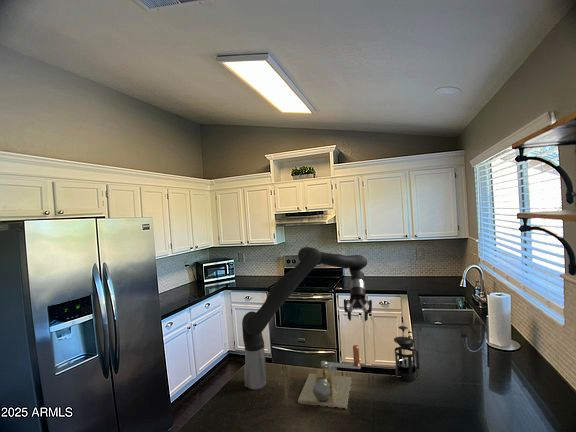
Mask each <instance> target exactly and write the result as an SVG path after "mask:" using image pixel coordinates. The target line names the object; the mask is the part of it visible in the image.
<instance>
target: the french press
mask: <svg viewBox="0 0 576 432" xmlns="http://www.w3.org/2000/svg"><path fill="white" fill-rule="evenodd" d="M398 329H399V330H401V331H402V336H396V337H394V338H393V341H394V342H395V343H396V344H397V345H398V347H395V348H394V355H395V356H394V358H395V359H394V360H395V377H396V376H401V377H396V378H397V379H398V380H400V381H403V382H415V381H417V378H418V376H417V370H419V369H420V360H419V359H420V358H419V350H418V349H417V348H413V347H414V343H415V340H414V339H413V338H412V337H409V336H405V330H408V329H409V328H408V326H405V325H401V326H398ZM397 351H398V352H397ZM406 351H411V354H410V353H409V354H406ZM403 353H404V354H403Z"/></svg>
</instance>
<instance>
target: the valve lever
mask: <svg viewBox="0 0 576 432" xmlns="http://www.w3.org/2000/svg"><path fill="white" fill-rule="evenodd" d="M352 353H353V354H352V355H353V356H352V357H353V363H346V362H345V363H344V362H332V361H327V360H321V361H320V366H321V367H327V366H329V367H335V368H342V369H344V368H345V369H355V370H356V369H358V370H361V368H362V367H361V365H362V364H360V348H359V345H356V344H354V345H353V346H352ZM321 367H320V368H321Z"/></svg>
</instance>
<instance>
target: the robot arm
mask: <svg viewBox="0 0 576 432" xmlns="http://www.w3.org/2000/svg"><path fill="white" fill-rule="evenodd" d="M297 258H298V260H299V262H298V264H297V265H296V266H295V267H294V268H292V269H291V270H289V271H287V272H286V273H285V274H283V275H281V276H280V278H279V279H278V280H277V281H276V282H275V283H274V284H273V285H272V286H271V289H270V290H269V292H268V294H267V297H266V298H265V301H264V302H263V304H262V305H261V306H260V308H259V309H258V310H256V311H249V312H247V313H245V314H244V315H243V318H242V321H241V324H242V326H241V327H242V328H241V329H242V339H243V340H242V341H243V345H244V358H245V359H244V360H245V361H244V362H245V365H243V373H244V374H243V377H244V387H245V388H248V389H250V390H260V389H262V388H265V386H266V385H267V370H266V369H267V367H266V353H265V341H264V336H263V333H262V332H263V331H264V330H265V328H266V327H267V326H268V325H269V322H270V321H271V320H272V319H273V316H274V315H275V314H276V313H277V311H278V310H279V309H280V308H281V307H282V306H283V305H284V304H285V302H286V300H287V299H289V298H290V296H291V295H292V294H293V293H294V292H295V290H296V288H297V287H298V286H299V285H300V284H301V282H303V280H304V279H305V278H306V277H307V276H308V275H309V274H310V273H311V272H312V271H313V270H314V269H315V268H316V267H317V265H325V266H328V267H329V266H330V267H335V268H340V269H348V270H349V273H350V287H349V288H350V290H349V291H350V293H349V294H350V295H349V299H343V309H344V313H347V319H348V320H349V321H350V322H351V321H352V312H353V311H354V310H357V309H359V310H362V311H363V312H364V318H363V319H364V322H367V321H368V320H369V318H368V316H369V315H368V314H371V313H372V311H373V301H372V299H370V300H367V299H366V282H365V273H364V272H363V271H362V270H363V269H364V268H365V267H366V266H367V265H368V260H367V258H366V257H365V256H363V255H361V254H353V255H352V254H351V255H346V254H339V253H332V252H324V251H323V252H322V251H320V250H319V249H318V248H315V247H310V246H305V247H302V248H301V249H300V250H299V251H298V253H297ZM349 304H350V306H349V307H348V305H349ZM366 305H368V308H366Z"/></svg>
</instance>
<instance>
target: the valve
mask: <svg viewBox="0 0 576 432" xmlns="http://www.w3.org/2000/svg"><path fill="white" fill-rule="evenodd" d="M336 373H337V369H336V367H329V366H327V367H320V368H317V372H316V373H308V376H307V378H306V381H304V382H305V383H304V384H303V387H302V389H301V392H300V394H299V396H298V399H297V404H301V405H310V406H317V405H320V406H319V407H325V406H328V408H334V407H338V408H337V409H342V408H345V409H344V410H348V406H349V405H348V404H349V400H350V393H349V391H350V392H351V387H350V385H351V386H352V381H351V379H352V377H350V376H344V375H343V376H342V375H336ZM348 399H349V400H348ZM347 405H348V406H347Z"/></svg>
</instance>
